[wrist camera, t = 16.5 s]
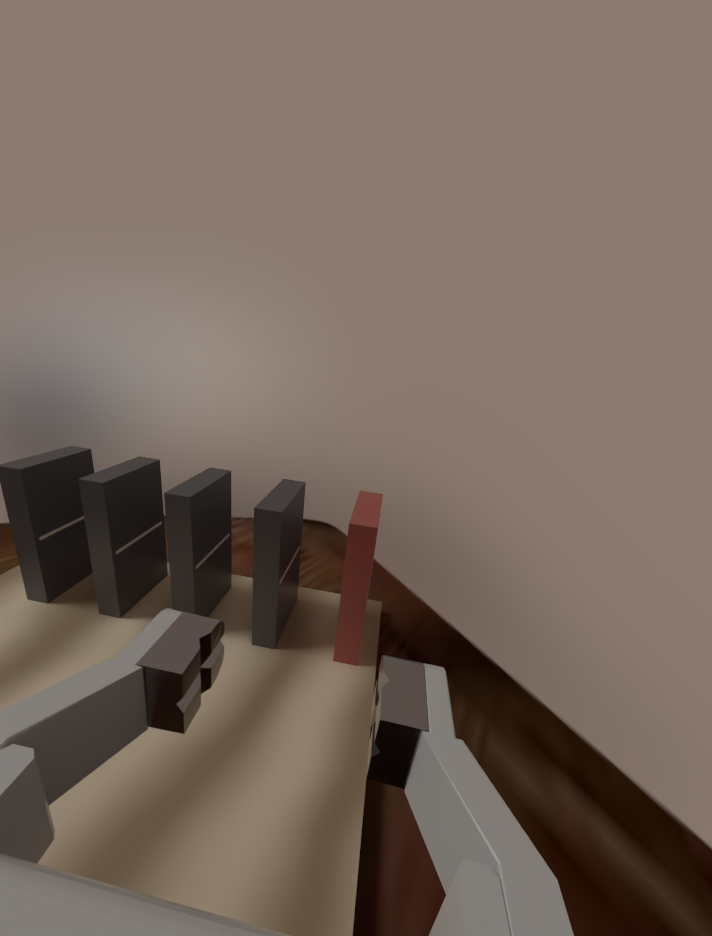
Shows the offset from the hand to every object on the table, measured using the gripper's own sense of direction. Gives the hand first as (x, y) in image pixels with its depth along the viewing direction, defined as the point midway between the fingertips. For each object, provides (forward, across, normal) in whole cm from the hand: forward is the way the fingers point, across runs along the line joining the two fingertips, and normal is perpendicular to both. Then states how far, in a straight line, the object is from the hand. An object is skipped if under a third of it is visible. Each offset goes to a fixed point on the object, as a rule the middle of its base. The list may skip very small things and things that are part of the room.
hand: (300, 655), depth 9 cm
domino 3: (+13, +10, +12) cm, 20 cm away
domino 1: (+13, +21, +12) cm, 27 cm away
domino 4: (+13, +4, +12) cm, 18 cm away
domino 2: (+13, +15, +12) cm, 23 cm away
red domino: (+13, -1, +12) cm, 17 cm away
